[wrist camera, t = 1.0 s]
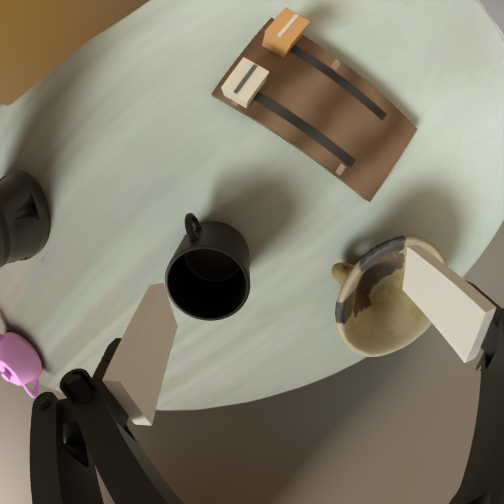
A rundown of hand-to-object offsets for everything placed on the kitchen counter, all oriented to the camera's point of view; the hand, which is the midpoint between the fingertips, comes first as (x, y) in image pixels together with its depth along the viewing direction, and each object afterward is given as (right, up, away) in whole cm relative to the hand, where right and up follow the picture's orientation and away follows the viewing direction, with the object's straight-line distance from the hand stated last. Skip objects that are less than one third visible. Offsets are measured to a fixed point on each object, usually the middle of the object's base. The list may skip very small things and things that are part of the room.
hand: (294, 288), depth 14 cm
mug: (-8, +3, +24) cm, 25 cm away
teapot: (-59, -22, +32) cm, 71 cm away
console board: (+7, +20, +17) cm, 27 cm away
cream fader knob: (-3, +20, +14) cm, 25 cm away
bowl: (+16, -1, +26) cm, 31 cm away
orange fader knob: (+1, +27, +11) cm, 29 cm away
